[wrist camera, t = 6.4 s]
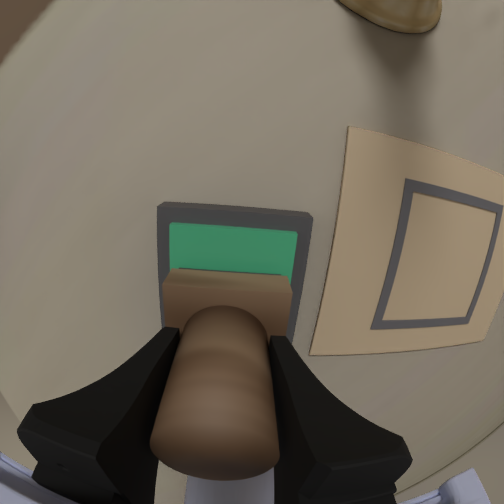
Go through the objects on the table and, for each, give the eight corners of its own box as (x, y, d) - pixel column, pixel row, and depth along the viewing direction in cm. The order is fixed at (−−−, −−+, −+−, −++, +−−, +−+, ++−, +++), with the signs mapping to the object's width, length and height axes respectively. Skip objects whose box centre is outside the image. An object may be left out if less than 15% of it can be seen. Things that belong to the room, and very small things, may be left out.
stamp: (273, 356, 15) (288, 488, 7) (179, 349, 14) (144, 476, 7) (285, 270, 13) (325, 405, 6) (175, 263, 13) (105, 387, 5)
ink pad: (281, 370, 17) (283, 387, 16) (170, 361, 17) (165, 378, 15) (307, 212, 14) (315, 220, 12) (164, 201, 13) (154, 208, 12)
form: (481, 339, 17) (483, 341, 17) (308, 353, 17) (309, 356, 16) (527, 187, 13) (529, 188, 13) (347, 126, 12) (349, 126, 12)
